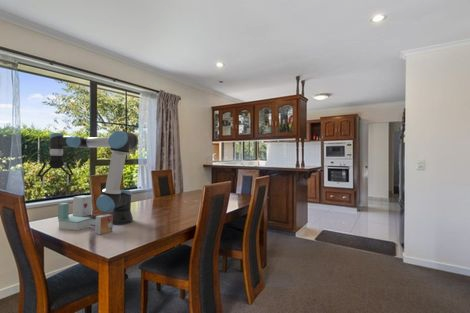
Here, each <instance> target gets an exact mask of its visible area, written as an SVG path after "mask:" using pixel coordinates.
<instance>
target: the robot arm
mask: <svg viewBox="0 0 470 313" xmlns="http://www.w3.org/2000/svg"><path fill="white" fill-rule="evenodd" d="M49 136H50V137H49V162H46V161H44V162H43V165H42V167H41V168H40V170H39V172H38V173H37V175H36V176H38V177H40V182H42V187H45V175H46V174H47V173H48V172H49V171H50V170H51V169H53V170H55V169H61V170H62V171H63V172H64V173H66V175H67V177H66V186H69V184H70V183H69V181H71V177H72V176H73V175H75V174H74V172H73V171H72V169H71V167H70V166H69V162H68V161H67V162H64V156H63V155H64V148H81V149H82V148H84V149H90V148H110V149H109V151H111V156H110V161H109V167H108V172H107V178H106V183H105V188H103V189H102V191H101V195H99V196H98V197H97V198H96V203H95V204H96V207H97V208H98V210H99V211H100V212H102V213H110V212H112V213H111V215H113V225H125V224H129V223H132V222H133V221H134V217H133V215H132V214H133V213H132V210H131V208H132V206H131V204H132V191H131V190H129V189H121V184H122V177H123V174H124V168H125V163H126V158H127V155H128V154H130V150H132V149H135V148H137V146H138V144H139V138H138V136H137V135H136V134H135V133H133V132H128V131H123V130H115V131H113V132H112V133H110V134H109V136H95V137H93V136H91V137H82V136H76V135H64V133H63V132H51V133H50V135H49ZM48 165H49V167H48V168H47V169H46V170H45V171H44V169H45V167H47V166H48ZM63 166H66V168H67V169H68V171H67V170H66V169H65V168H64V167H63ZM42 172H43V173H42ZM69 172H70V173H69Z"/></svg>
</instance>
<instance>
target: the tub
mask: <svg viewBox="0 0 470 313" xmlns="http://www.w3.org/2000/svg"><path fill="white" fill-rule="evenodd" d="M90 227H91V225H90V219H89V220H86V221H83V222H79V223H71V222H62V221H58V230H63V231H64V230H66V231H75V232H78V231H82V230H84V229H87V228H90Z"/></svg>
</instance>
